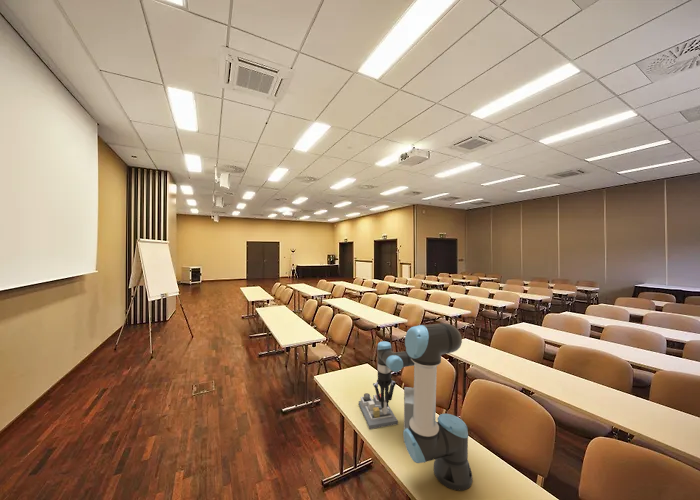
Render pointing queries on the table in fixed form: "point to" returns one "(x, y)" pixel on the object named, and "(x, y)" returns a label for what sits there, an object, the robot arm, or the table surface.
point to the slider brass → (376, 412)
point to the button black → (366, 397)
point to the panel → (384, 418)
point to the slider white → (371, 405)
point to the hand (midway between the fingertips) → (384, 412)
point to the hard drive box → (408, 405)
